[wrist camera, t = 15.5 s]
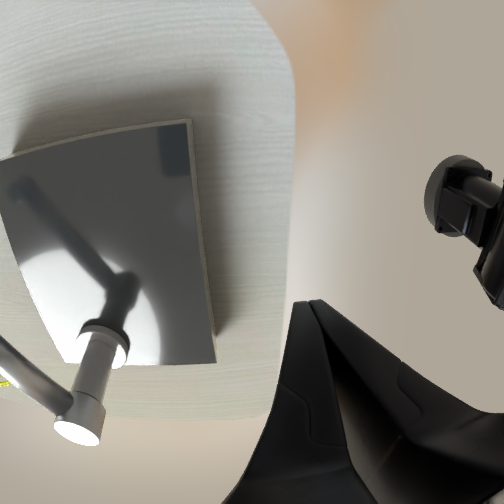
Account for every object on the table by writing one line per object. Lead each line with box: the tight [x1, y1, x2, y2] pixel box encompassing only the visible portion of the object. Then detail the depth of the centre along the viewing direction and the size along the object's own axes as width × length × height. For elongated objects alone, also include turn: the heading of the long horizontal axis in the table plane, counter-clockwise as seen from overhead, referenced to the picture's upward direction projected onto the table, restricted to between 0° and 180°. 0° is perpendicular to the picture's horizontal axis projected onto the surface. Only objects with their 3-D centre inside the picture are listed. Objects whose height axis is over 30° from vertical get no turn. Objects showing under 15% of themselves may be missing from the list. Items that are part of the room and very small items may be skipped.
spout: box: [0, 335, 106, 446], centre depth 14 cm, size 17×3×4 cm, turn 34°
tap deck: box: [0, 118, 217, 404], centre depth 18 cm, size 14×18×9 cm
